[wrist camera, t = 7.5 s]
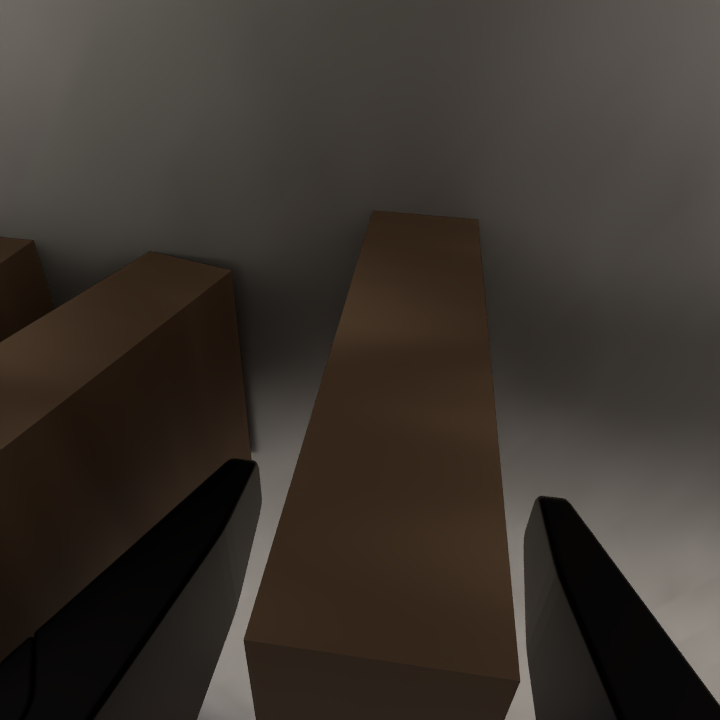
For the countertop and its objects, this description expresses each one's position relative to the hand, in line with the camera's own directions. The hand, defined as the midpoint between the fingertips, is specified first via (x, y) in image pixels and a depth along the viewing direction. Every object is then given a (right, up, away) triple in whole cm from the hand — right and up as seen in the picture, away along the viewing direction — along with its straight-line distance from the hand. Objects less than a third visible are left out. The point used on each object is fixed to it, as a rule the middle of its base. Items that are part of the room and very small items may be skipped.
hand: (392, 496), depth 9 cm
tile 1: (0, +2, +1) cm, 3 cm away
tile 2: (-3, +2, +2) cm, 4 cm away
